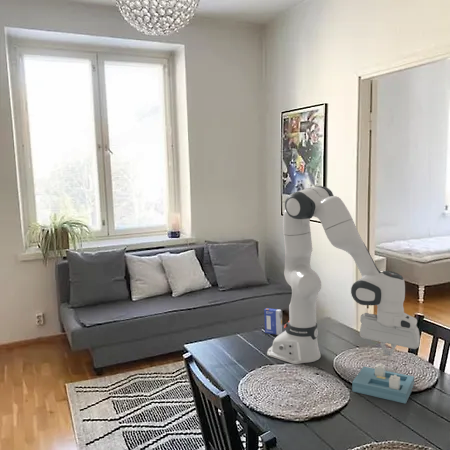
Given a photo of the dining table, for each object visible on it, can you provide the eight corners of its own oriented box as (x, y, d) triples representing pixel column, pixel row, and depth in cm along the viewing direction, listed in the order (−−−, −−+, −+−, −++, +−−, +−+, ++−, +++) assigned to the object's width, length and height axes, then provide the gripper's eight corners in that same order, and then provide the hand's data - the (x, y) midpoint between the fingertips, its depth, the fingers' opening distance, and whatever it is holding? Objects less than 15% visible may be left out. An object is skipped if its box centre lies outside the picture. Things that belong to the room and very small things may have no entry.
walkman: (264, 333, 222) (264, 309, 220) (267, 331, 224) (266, 307, 223) (280, 335, 218) (279, 310, 217) (282, 333, 221) (281, 308, 219)
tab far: (374, 378, 167) (374, 365, 167) (376, 375, 170) (376, 361, 169) (383, 380, 166) (383, 366, 165) (385, 376, 168) (385, 363, 168)
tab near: (389, 391, 158) (389, 377, 157) (391, 387, 160) (391, 373, 160) (398, 393, 156) (398, 378, 156) (400, 389, 159) (400, 375, 158)
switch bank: (352, 391, 163) (352, 381, 163) (363, 375, 175) (363, 366, 174) (405, 403, 153) (405, 393, 153) (414, 385, 165) (414, 376, 165)
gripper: (358, 314, 166) (356, 350, 168) (418, 325, 155) (415, 364, 157) (363, 309, 171) (361, 345, 173) (422, 320, 160) (419, 358, 162)
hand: (387, 354), depth 165 cm, fingers closed
